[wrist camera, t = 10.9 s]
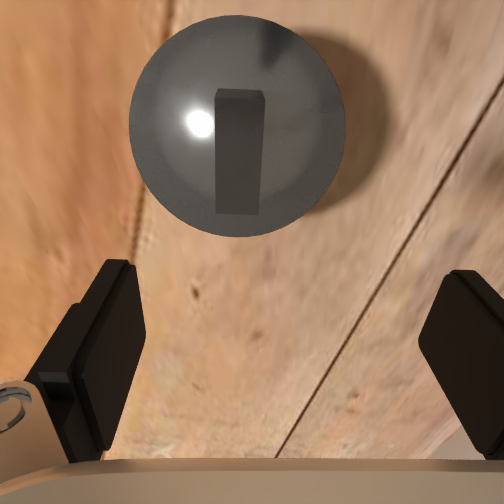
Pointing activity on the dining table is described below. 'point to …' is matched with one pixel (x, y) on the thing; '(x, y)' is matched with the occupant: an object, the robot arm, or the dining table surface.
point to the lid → (237, 126)
